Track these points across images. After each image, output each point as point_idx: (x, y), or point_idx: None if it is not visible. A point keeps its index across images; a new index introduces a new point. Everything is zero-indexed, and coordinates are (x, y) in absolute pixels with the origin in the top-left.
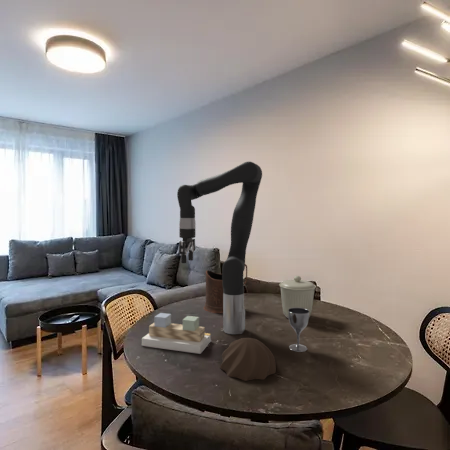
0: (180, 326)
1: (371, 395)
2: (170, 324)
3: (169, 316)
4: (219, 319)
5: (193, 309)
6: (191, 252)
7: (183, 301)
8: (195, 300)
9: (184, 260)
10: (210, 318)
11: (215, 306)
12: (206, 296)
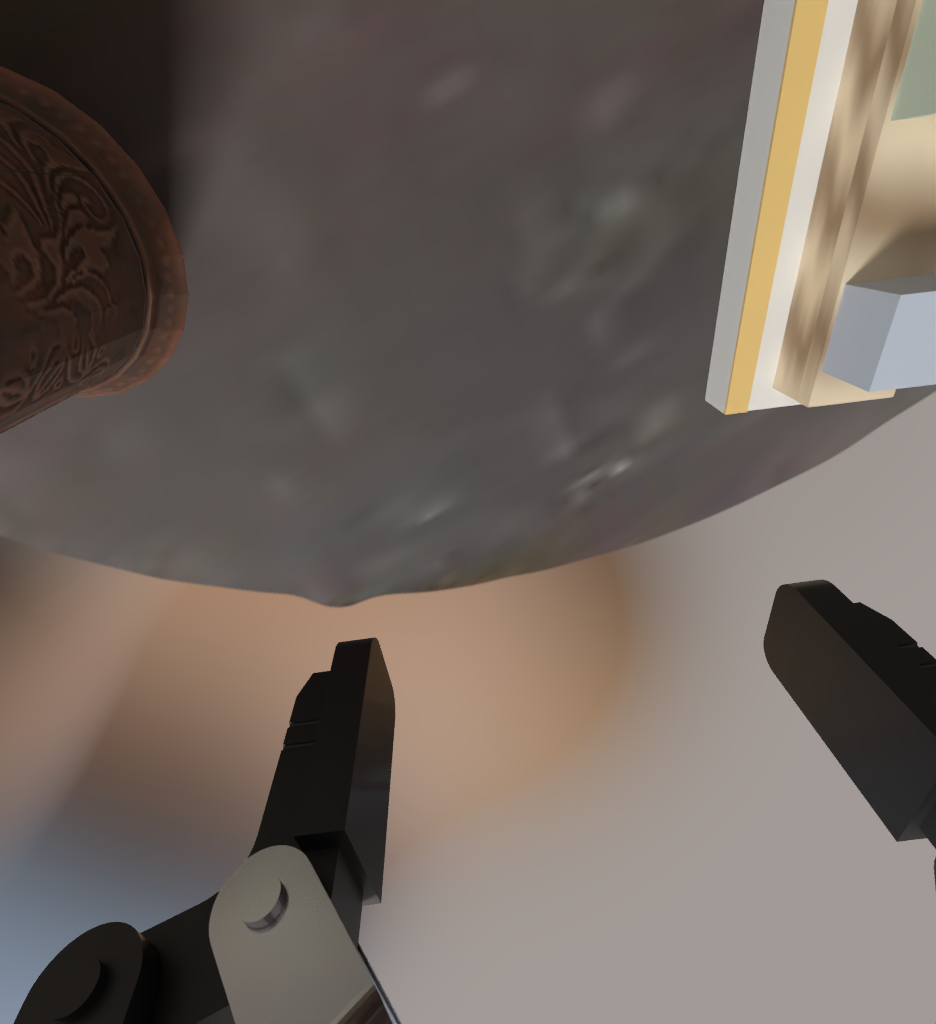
0: (911, 172)
1: None
2: (865, 277)
3: (921, 290)
4: (292, 110)
5: (218, 431)
6: (338, 872)
7: (127, 567)
8: (45, 516)
9: (904, 634)
10: (313, 207)
11: (131, 243)
12: (89, 377)
